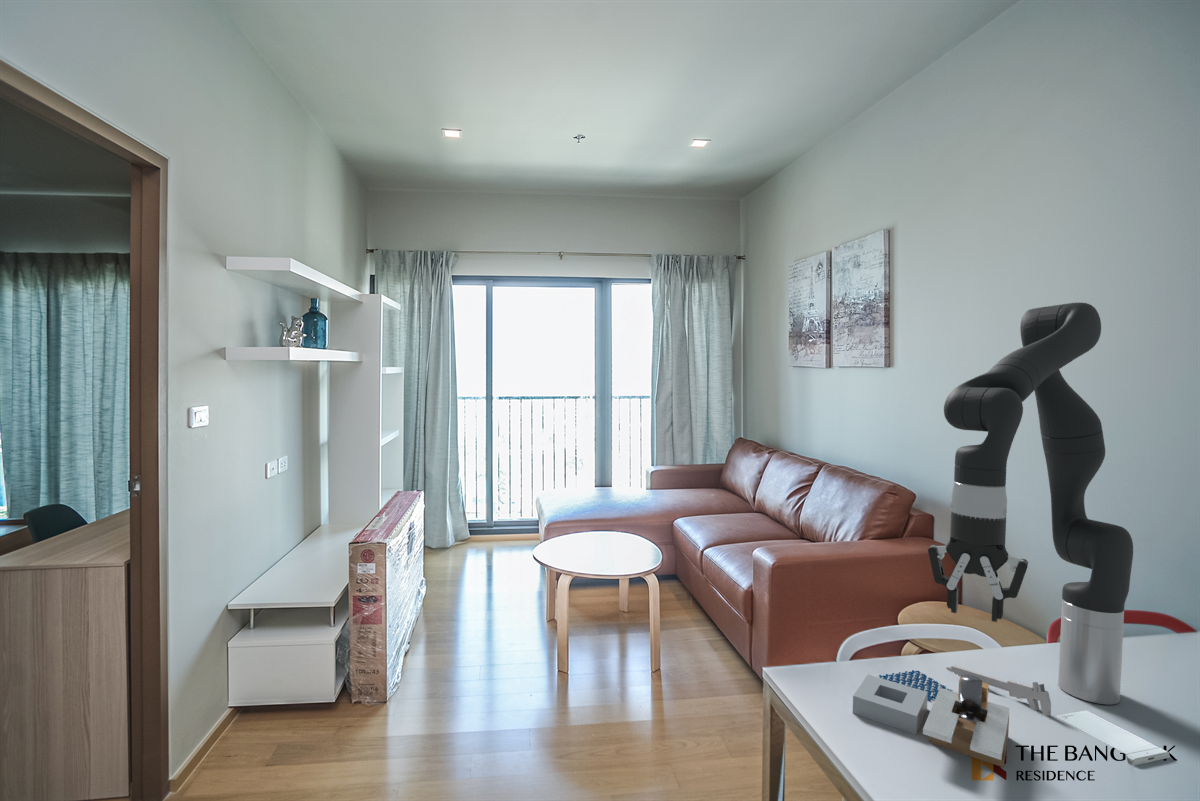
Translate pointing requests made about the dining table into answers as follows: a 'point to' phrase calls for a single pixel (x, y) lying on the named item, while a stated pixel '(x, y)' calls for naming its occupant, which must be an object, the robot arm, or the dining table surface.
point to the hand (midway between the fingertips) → (973, 615)
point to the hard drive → (1116, 737)
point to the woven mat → (917, 682)
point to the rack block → (890, 703)
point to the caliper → (1014, 689)
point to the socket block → (969, 739)
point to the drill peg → (970, 697)
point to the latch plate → (985, 735)
